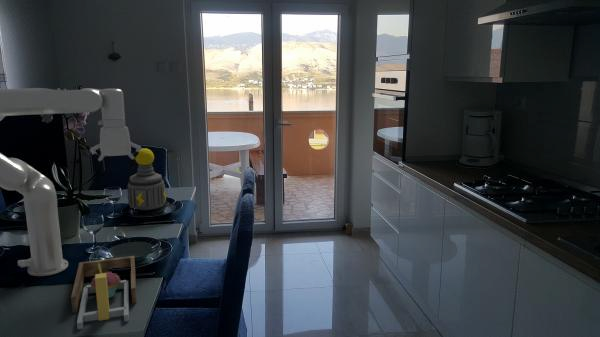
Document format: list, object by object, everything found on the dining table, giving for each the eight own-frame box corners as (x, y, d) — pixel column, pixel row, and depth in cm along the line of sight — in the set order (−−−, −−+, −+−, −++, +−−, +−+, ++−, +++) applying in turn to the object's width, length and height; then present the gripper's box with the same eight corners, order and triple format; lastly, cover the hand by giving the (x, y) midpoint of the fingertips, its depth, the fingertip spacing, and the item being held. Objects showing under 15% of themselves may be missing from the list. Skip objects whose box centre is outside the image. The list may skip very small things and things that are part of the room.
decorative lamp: (160, 211, 226) (156, 152, 219) (122, 210, 226) (117, 151, 220) (171, 200, 244) (168, 145, 238) (136, 199, 245) (132, 144, 238)
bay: (72, 312, 133) (70, 297, 132) (80, 276, 156) (79, 262, 155) (136, 302, 139) (135, 287, 138) (135, 269, 162) (134, 255, 161)
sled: (77, 329, 124) (73, 285, 122) (84, 291, 145) (80, 253, 142) (128, 321, 129) (125, 278, 126) (128, 285, 149) (125, 248, 147)
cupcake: (103, 304, 138) (100, 267, 135) (86, 297, 142) (82, 261, 139) (127, 292, 145) (124, 257, 142) (109, 286, 149) (106, 252, 146)
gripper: (86, 125, 156) (90, 174, 160) (139, 124, 162) (142, 170, 166) (88, 123, 163) (92, 169, 167) (139, 121, 169) (142, 166, 172)
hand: (117, 170), depth 166 cm, fingers open, 9 cm apart
